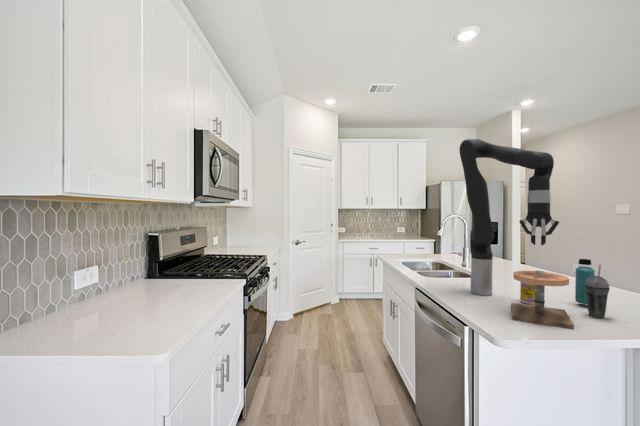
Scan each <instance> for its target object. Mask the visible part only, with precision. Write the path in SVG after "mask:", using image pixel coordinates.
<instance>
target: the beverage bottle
mask: <svg viewBox="0 0 640 426" xmlns="http://www.w3.org/2000/svg"><path fill="white" fill-rule="evenodd" d="M578 264H579V265H581V266H578V267H576V268H575V294H574V299H575V302H576V303H579V304H582V305H587V306H588V303H587V292H586V289H585V282H586V280H587V279H588V278H589V277H592V276H596V275H595V273H596V272H595V269H593V267H589V266H592V260H591V259H590V258H589V259H587V258H579V259H578ZM582 265H585V266H582Z"/></svg>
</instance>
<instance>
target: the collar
mask: <svg viewBox="0 0 640 426" xmlns="http://www.w3.org/2000/svg"><path fill="white" fill-rule="evenodd" d="M535 271H536V270H517V271H513V280H515V281H518V282H520V283H521V282H524V283H529V284H534V285H543V286H545V287H565V286H568V285H570V278H569V277H568V276H567V275H566V276H565V275H562V274H559V273H553V272H548V271H544V272H545V276H535Z"/></svg>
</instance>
